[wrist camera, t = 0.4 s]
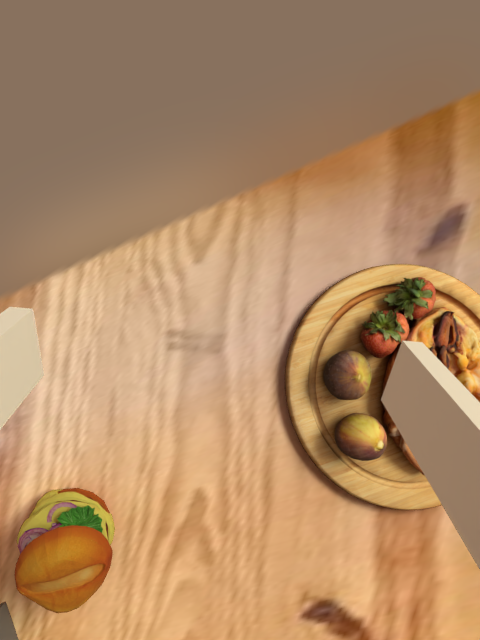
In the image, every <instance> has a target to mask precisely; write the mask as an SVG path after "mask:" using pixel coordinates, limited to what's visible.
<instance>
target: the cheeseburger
mask: <svg viewBox="0 0 480 640" xmlns="http://www.w3.org/2000/svg"><path fill="white" fill-rule="evenodd" d="M114 530H115V527H114V522H113V518H112V514H110V512H109V510H108V508H107V506H106V504H105V502H104V501H103V500H102V499H101V498H99V497H98V496H97V495H95V494H94V493H93V492H90V491H86V490H83V489H79V488H74V489H63V490H52V491H50V492H48V493H46V494H45V495H44V496H43V497H42V498H41V499H40V500H39V501H38V502H37V504H36V507H35V508H34V510H33V511H32V513H31V514H30V516H29V518H28V519H26V520H25V521H24V523H23V524H22V526H21V528H20V531H19V534H18V538H17V544H18V548H19V551H20V553H21V554H20V556H19V558H18V561H17V563H16V568H15V580H16V587H17V589H18V591H19V593H21V594H22V595H24V596H26V597H27V598H29V599H31V600H32V601H34V602H36V603H37V604H39V605H40V606H42V607H44V608H45V609H47V610H50V611H53V612H56V613H63V612H69V611H72V610H74V609H77V608H78V607H80V606H81V605H82V604H84V603H85V602H86V601H87V600H88V599H89V598H90V597H91V596H92V595H93V594H94V593H95V592H96V591H97V590H98V588H99V587H100V586H101V585H102V583H103V581H104V579H105V577H106V575H107V573H108V571H109V568H110V565H111V560H112V548H111V546H110V545H111V543H112V541H113V536H114Z"/></svg>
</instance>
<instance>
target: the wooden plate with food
mask: <svg viewBox="0 0 480 640" xmlns="http://www.w3.org/2000/svg"><path fill="white" fill-rule="evenodd" d="M402 341H413V342H422V343H423V344H424V345H425V346H426V347H427V348H428V349H429V350H430V351H431V352H432V353H433V354H434V355H435V356H436V357H437V358H438V359H439V360H440V361H441V362H442V363H443V364H444V366H445V367H446V368H447V369H448V370H449V371H450V372H451V373H452V374H453V375H454V376H455V377H456V378H457V379H458V380H459V381H460V382H461V383H462V384H463V385H464V386H465V388H466V389H467V390H468V391H469V392H470V393H471V394H472V395H473V396H474V397H475V398H476V399H477V400H478V401H479V402H480V295H479V294H478V293H476V292H475V291H474V290H473V289H471V288H470V287H469V286H467V285H466V284H464V283H463V282H461V281H459V280H458V279H456V278H454V277H452V276H450V275H448V274H446V273H443V272H440V271H438V270H434V269H431V268H428V267H424V266H419V265H411V264H391V265H382V266H376V267H371V268H368V269H364V270H362V271H359V272H356V273H354V274H352V275H350V276H348V277H346V278H344V279H343V280H341V281H339V282H338V283H336V284H335V285H333V286H332V287H330V288H329V289H328V290H327V291H326V292H324V293H323V294H322V295H321V296H320V297H319V298H318V299H317V300H316V301H315V302H314V303H313V305H312V306H311V307H310V308H309V310H308V311H307V312H306V314H305V315H304V317H303V319H302V320H301V322H300V323H299V325H298V327H297V329H296V332H295V334H294V337H293V340H292V343H291V345H290V348H289V353H288V357H287V362H286V369H285V391H286V399H287V405H288V410H289V414H290V418H291V421H292V424H293V426H294V429H295V431H296V433H297V436H298V438H299V440H300V442H301V444H302V446H303V448H304V449H305V451H306V452H307V454H308V455H309V457H310V458H311V460H312V461H313V462H314V463H315V465H316V466H317V467H318V468H319V469H320V470H321V471H322V472H323V473H324V474H325V475H326V476H327V477H328V478H329V479H330V480H331V481H332V482H334V483H335V484H336V485H337V486H339V487H340V488H342V489H343V490H345V491H346V492H347V493H349V494H351V495H353V496H354V497H356V498H358V499H361V500H363V501H366V502H369V503H372V504H374V505H378V506H382V507H387V508H392V509H398V510H421V509H428V508H433V507H437V506H441V505H442V504H441V502H440V500H439V499H438V497H437V495H436V494H435V492H434V490H433V488H432V487H431V485H430V483H429V482H428V480H427V478H426V476H425V475H424V473H423V471H422V470H421V468H420V466H419V464H418V463H417V461H416V459H415V458H414V456H413V454H412V452H411V451H410V449H409V447H408V446H407V444H406V442H405V440H404V439H403V437H402V435H401V433H400V432H399V430H398V428H397V427H396V425H395V423H394V421H393V420H392V418H391V416H390V415H389V413H388V411H387V409H386V408H385V406H384V404H383V403H382V401H381V398H382V395H383V392H384V390H385V387H386V384H387V381H388V379H389V376H390V373H391V370H392V368H393V365H394V362H395V359H396V356H397V354H398V351H399V348H400V345H401V343H402Z"/></svg>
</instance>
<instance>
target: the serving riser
mask: <svg viewBox="0 0 480 640" xmlns="http://www.w3.org/2000/svg"><path fill="white" fill-rule="evenodd" d="M0 640H18V637H17V634H16V631H15V628H14V625H13V622H12V619H11V616H10V613H9V610H8V607H7V604H6V602H4V603H1V604H0Z"/></svg>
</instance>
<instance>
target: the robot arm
mask: <svg viewBox="0 0 480 640" xmlns="http://www.w3.org/2000/svg"><path fill="white" fill-rule="evenodd" d="M43 376H44V371H43V365H42V359H41V353H40V347H39V342H38V336H37V330H36V324H35V318H34V312H33V309H29V308H18V307H9V308H7V309H6V310H5V311H3V312H2V313H1V314H0V429H1V428H2V427H3V426H4V424H5V423H6V422H7V421H8V419H9V418H10V417H11V416H12V414H13V413H14V412H15V411H16V409H17V408H18V407H19V406H20V404H21V403H22V402H23V401H24V399H25V398H26V397H27V396H28V394H29V393H30V392H31V391H32V389H33V388H34V387H35V386H36V384H37V383H38V382H39V381H40V379H41V378H42V377H43ZM381 401H382V403H383V404H384V406H385V408H386V409H387V411H388V413H389V415H390V416H391V418H392V420H393V421H394V423H395V425H396V427H397V428H398V430H399V432H400V433H401V435H402V437H403V439H404V440H405V442H406V444H407V446H408V447H409V449H410V451H411V452H412V454H413V456H414V458H415V459H416V461H417V463H418V464H419V466H420V468H421V470H422V471H423V473H424V475H425V476H426V478H427V480H428V482H429V483H430V485H431V487H432V488H433V490H434V492H435V494H436V495H437V497H438V499H439V500H440V502H441V504H442V506H443V507H444V509H445V511H446V513H447V514H448V516H449V518H450V519H451V521H452V523H453V525H454V526H455V528H456V530H457V531H458V533H459V535H460V537H461V538H462V540H463V542H464V543H465V545H466V547H467V549H468V550H469V552H470V554H471V555H472V557H473V559H474V561H475V562H476V564H477V566H478V568H479V569H480V402H479V401H478V400H477V399H476V398H475V397H474V396H473V395H472V394H471V393H470V392H469V391H468V390H467V389H466V388H465V386H464V385H463V384H462V383H461V382H460V381H459V380H458V379H457V378H456V377H455V376H454V375H453V374H452V373H451V372H450V371H449V370H448V369H447V368H446V367H445V366H444V364H443V363H442V362H441V361H440V360H439V359H438V358H437V357H436V356H435V355H434V354H433V353H432V352H431V351H430V350H429V349H428V348H427V347H426V346H425V345H424V344H423V343H422V342H413V341H402V343H401V345H400V348H399V351H398V354H397V356H396V359H395V362H394V365H393V368H392V370H391V373H390V376H389V379H388V381H387V384H386V387H385V390H384V392H383V395H382V398H381Z"/></svg>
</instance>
